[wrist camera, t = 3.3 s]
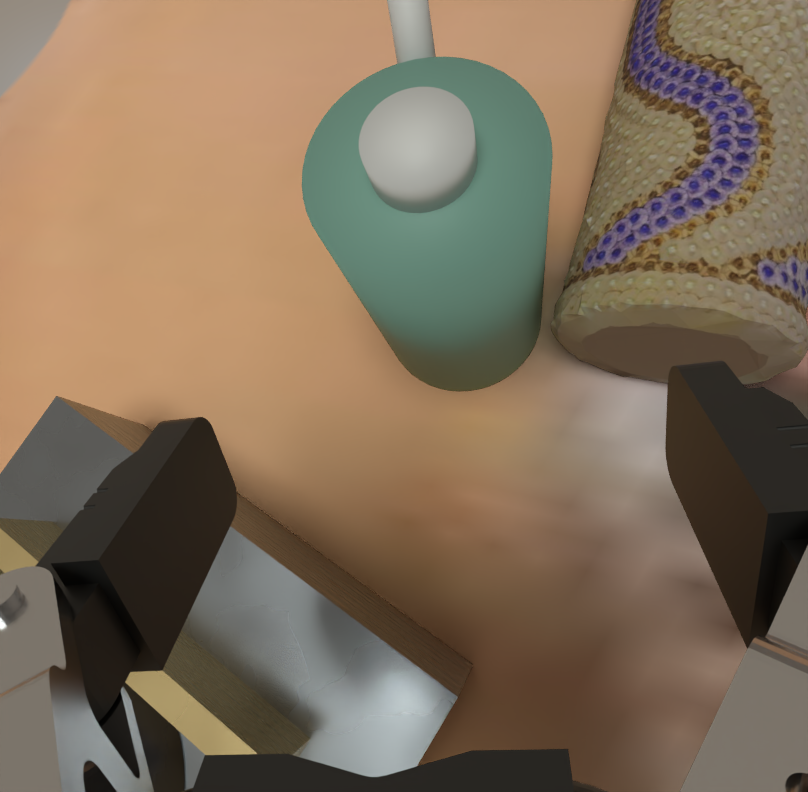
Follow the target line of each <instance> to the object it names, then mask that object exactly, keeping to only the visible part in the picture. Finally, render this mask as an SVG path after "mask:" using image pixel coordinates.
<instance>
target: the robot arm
mask: <svg viewBox="0 0 808 792" xmlns="http://www.w3.org/2000/svg"><path fill="white" fill-rule="evenodd" d="M666 459H667V466H668V471H669V475H670V478H671V481H672V484H673V486H674V488H675V490H676V493H677V495H678V497H679V499H680V501H681V504H682V506H683V508H684V510H685V512H686V515H687V517H688V519H689V521H690V523H691V526H692V528H693V530H694V532H695V534H696V537H697V539H698V541H699V543H700V545H701V548H702V550H703V552H704V554H705V556H706V559H707V561H708V563H709V565H710V567H711V570H712V572H713V574H714V576H715V578H716V581H717V583H718V585H719V587H720V589H721V592H722V594H723V596H724V598H725V600H726V603H727V605H728V607H729V609H730V611H731V614H732V616H733V618H734V620H735V622H736V625H737V627H738V629H739V631H740V633H741V636H742V638H743V640H744V642H745V644H746V647H747V651H746V653H745V655H744V657H743V659H742V662H741V664H740V666H739V668H738V670H737V672H736V674H735V676H734V678H733V681H732V683H731V685H730V687H729V689H728V691H727V693H726V695H725V697H724V700H723V702H722V704H721V706H720V708H719V710H718V712H717V714H716V716H715V718H714V721H713V723H712V725H711V727H710V729H709V731H708V733H707V735H706V737H705V740H704V742H703V744H702V746H701V748H700V750H699V752H698V754H697V756H696V759H695V761H694V763H693V765H692V767H691V769H690V771H689V773H688V775H687V777H686V780H685V782H684V784H683V786H682V788H681V790H680V792H808V420H807V419H806V418H805V417H804V415H803V414H802V413H801V412H800V411H799V410H798V408H797V407H796V406H795V405H794V404H793V403H791V402H790V401H788V400H786V399H784V398H782V397H780V396H778V395H777V394H775V393H773V392H771V391H769V390H767V389H765V388H764V387H761V388H751V389H746V388H745V387H744V386H743V384H742V383H741V382H740V380H739V379H738V378H737V377H736V375H735V374H734V373H733V371H732V370H731V369H730V368H729V366H728V365H727V364H726V363H725V362H724V361H712V362H703V363H694V364H685V365H676V366H672V367H671V369H670V372H669V377H668V395H667V421H666ZM236 508H237V493H236V487H235V484H234V481H233V478H232V476H231V473H230V471H229V468H228V466H227V463H226V461H225V458H224V456H223V453H222V451H221V448H220V445H219V443H218V440H217V438H216V435H215V433H214V430H213V428H212V426H211V424H210V423H209V421H208V420H206V419H205V418H203V417H197V418H188V419H179V420H170V421H163V422H161V423H159V424H158V425H157V426H156V428H155V429H154V430H153V432H152V433H151V434H150V435H149V437H148V438H147V439H146V441H145V442H144V443H143V444H142V446H141V447H140V448H139V450H138V451H136V452H135V453H133V454H132V455H131V456H129V457H128V458H127V459H125V460H124V461H123V462H121V463H120V464H119V465H117V466H116V467H115V468H113V469H112V471H111V472H110V473H109V474H108V476H107V477H106V478H105V479H104V481H103V482H102V483H101V484H100V486H99V487H98V488H97V493H93V494H92V496H91V497H90V498H89V499H88V501H87V502H86V503H85V504H84V510H80V511H79V512H78V513H77V514H76V516H75V517H74V518H73V519H72V521H71V522H70V523H69V524H68V526H67V527H66V528H65V530H64V531H63V532H62V533H61V535H60V536H59V537H58V538H57V540H56V541H55V542H54V543H53V545H52V546H51V547H50V548H49V550H48V551H47V552H46V553H45V555H44V556H43V557H42V558H41V560H40V561H39V562H38V563H37V565H36V566H31V567H23V568H19V569H15V570H12V571H9V572H6V573H4V574H1V575H0V792H154V789H153V785H152V782H151V778H150V774H149V770H148V766H147V762H146V758H145V754H144V750H143V746H142V742H141V738H140V734H139V730H138V726H137V722H136V718H135V714H134V710H133V706H132V703H131V699H130V697H129V694H128V693H127V691H126V690H125V688H124V687H123V685H124V683H125V681H126V679H127V678H128V676H129V674H130V672H143V671H162V670H163V668H164V666H165V664H166V662H167V660H168V657H169V655H170V653H171V651H172V649H173V647H174V645H175V643H176V640H177V638H178V636H179V634H180V632H181V630H182V628H183V626H184V623H185V621H186V619H187V617H188V615H189V613H190V611H191V609H192V606H193V604H194V602H195V600H196V598H197V596H198V594H199V592H200V589H201V587H202V585H203V583H204V581H205V579H206V577H207V575H208V572H209V570H210V568H211V566H212V564H213V562H214V560H215V558H216V555H217V553H218V551H219V549H220V547H221V545H222V543H223V541H224V538H225V536H226V534H227V532H228V530H229V528H230V526H231V524H232V521H233V519H234V517H235V513H236ZM182 792H607V791H604V790H602V789H599V788H597V787H594V786H591V785H588V784H584V783H580V782H577V781H573V780H572V774H571V767H570V760H569V753H568V749H547V750H485V751H469V752H466V753H462V754H459V755H455V756H452V757H448V758H445V759H441V760H438V761H434V762H431V763H427V764H424V765H420V766H417V767H413V768H410V769H406V770H403V771H399V772H396V773H392V774H389V775H385V776H380V777H369V776H364V775H360V774H357V773H353V772H350V771H346V770H343V769H339V768H336V767H332V766H329V765H325V764H322V763H318V762H315V761H311V760H308V759H304V758H301V757H297V756H294V755H290V754H239V755H205V756H204V759H203V762H202V764H201V767H200V770H199V773H198V776H197V778H196V781H195V784H194V787H193V788H190V789H187V790H184V791H182Z"/></svg>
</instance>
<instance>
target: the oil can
mask: <svg viewBox="0 0 808 792" xmlns="http://www.w3.org/2000/svg"><path fill="white" fill-rule="evenodd" d="M387 2H388V8H389V14H390V20H391V26H392V33H393V39H394V45H395V51H396V58H397V64H396V65H393V66H390V67H388V68H385V69H383V70H381V71H379V72H377V73H375V74H373V75H371V76H369V77H367V78H366V79H364V80H363V81H361V82H359V83H358V84H356V85H355V86H354V87H353V88H351V89H350V90H349V91H348V92H346V93H345V94H344V95H343V96H342V97H341V98H340V99H339V100H338V101H337V102H336V103H335V104H334V105H333V106H332V107H331V109H330V110H329V111H328V112H327V113H326V115H325V116H324V117H323V119H322V121H321V122H320V124H319V125H318V127H317V128H316V130H315V132H314V135H313V137H312V139H311V141H310V143H309V146H308V149H307V152H306V155H305V160H304V165H303V171H302V191H303V200H304V204H305V208H306V212H307V214H308V217H309V219H310V221H311V224H312V226H313V227H314V229H315V231H316V232H317V234H318V236H319V237H320V239H321V240H322V242H323V244H324V245H325V247H326V248H327V250H328V251H329V253H330V254H331V256H332V257H333V259H334V260H335V262H336V264H337V265H338V267H339V268H340V270H341V271H342V273H343V274H344V276H345V277H346V279H347V280H348V282H349V284H350V285H351V287H352V288H353V290H354V291H355V293H356V294H357V296H358V297H359V299H360V301H361V302H362V304H363V305H364V307H365V308H366V310H367V311H368V313H369V314H370V316H371V317H372V319H373V321H374V322H375V324H376V325H377V327H378V328H379V330H380V331H381V333H382V334H383V336H384V338H385V339H386V341H387V342H388V344H389V345H390V347H391V348H392V350H393V351H394V353H395V354H396V356H397V358H398V359H399V361H400V362H401V363H402V364H403V366H404V367H405V368H406V369H407V370H408V371H409V372H410V373H411V374H412V375H414V376H415V377H416V378H418V379H419V380H421V381H423V382H425V383H427V384H429V385H431V386H434V387H437V388H440V389H444V390H449V391H472V390H477V389H482V388H485V387H488V386H491V385H493V384H495V383H498V382H500V381H501V380H503V379H505V378H506V377H508V376H509V375H511V374H512V373H513V372H514V371H516V370H517V369H518V368H519V367H520V366H521V365H522V363H523V362H524V361H525V360H526V358H527V357H528V356H529V354H530V353H531V351H532V349H533V347H534V345H535V343H536V340H537V338H538V334H539V330H540V325H541V312H542V298H543V284H544V270H545V256H546V241H547V227H548V213H549V199H550V184H551V170H552V142H551V137H550V133H549V129H548V126H547V123H546V120H545V118H544V115H543V113H542V112H541V110H540V108H539V106H538V105H537V103H536V101H535V100H534V99H533V98H532V97H531V95H530V94H529V93H528V92H527V90H525V89H524V88H523V87H522V86H521V85H520V84H519V83H518V82H517V81H515V80H514V79H512V78H511V77H510V76H508V75H507V74H505V73H504V72H502V71H500V70H497V69H495V68H493V67H491V66H489V65H486V64H483V63H480V62H477V61H473V60H468V59H463V58H455V57H436V56H435V49H434V41H433V34H432V26H431V19H430V11H429V4H428V0H387Z"/></svg>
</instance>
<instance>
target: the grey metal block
mask: <svg viewBox="0 0 808 792" xmlns="http://www.w3.org/2000/svg"><path fill="white" fill-rule="evenodd" d="M151 433H152V431H151V430H150V429H148V428H147V427H145V426H144V425H142V424H139V423H136V422H133V421H130V420H127V419H124V418H121V417H118V416H115V415H112V414H109V413H106V412H103V411H100V410H97V409H94V408H91V407H88V406H85V405H82V404H79V403H76V402H73V401H70V400H67V399H64V398H61V397H58V396H56V397H55V399H54V400H53V402H52V403H51V404H50V406H49V407H48V409H47V410H46V411H45V413H44V414H43V416H42V417H41V418H40V420H39V421H38V422H37V424H36V425H35V427H34V428H33V429H32V431H31V432H30V434H29V435H28V436H27V438H26V439H25V441H24V442H23V443H22V445H21V446H20V447H19V449H18V450H17V452H16V453H15V454H14V456H13V457H12V459H11V460H10V461H9V463H8V464H7V466H6V467H5V468H4V470H3V471H2V472H1V474H0V575H1V574H4V573H6V572H9V571H12V570H15V569H19V568H23V567H31V566H36V565H37V563H38V562H39V561H40V560H41V558H42V557H43V556H44V555H45V553H46V552H47V551H48V550H49V548H50V547H51V546H52V545H53V543H54V542H55V541H56V540H57V538H58V537H59V536H60V535H61V533H62V532H63V531H64V530H65V528H66V527H67V526H68V524H69V523H70V522H71V521H72V519H73V518H74V517H75V516H76V514H77V513H78V512H79V511H80V510H84V504H85V503H86V502H87V501H88V499H89V498H90V497H91V496H92V494H93V493H97V488H98V487H99V486H100V484H101V483H102V482H103V481H104V479H105V478H106V477H107V476H108V474H109V473H110V472H111V471H112V469H113V468H115V467H116V466H117V465H119V464H120V463H121V462H123V461H124V460H125V459H127V458H128V457H129V456H131V455H132V454H133V453H135V452H136V451H138V450H139V448H140V447H141V446H142V444H143V443H144V442H145V441H146V439H147V438H148V437H149V435H150V434H151ZM472 666H473V664H472V663H470V662H469V661H468V660H466V659H465V658H463V657H462V656H461V655H459V654H458V653H457V652H455V651H454V650H452V649H451V648H450V647H448V646H447V645H446V644H444V643H443V642H441V641H440V640H439V639H437V638H436V637H435V636H433V635H432V634H430V633H429V632H428V631H426V630H425V629H424V628H422V627H421V626H419V625H418V624H417V623H415V622H414V621H413V620H411V619H410V618H408V617H407V616H406V615H404V614H403V613H401V612H400V611H399V610H397V609H396V608H395V607H393V606H392V605H390V604H389V603H388V602H386V601H385V600H384V599H382V598H381V597H379V596H378V595H377V594H375V593H374V592H373V591H371V590H370V589H368V588H367V587H366V586H364V585H363V584H362V583H360V582H359V581H357V580H356V579H355V578H353V577H352V576H351V575H349V574H348V573H346V572H345V571H344V570H342V569H341V568H340V567H338V566H337V565H335V564H334V563H333V562H331V561H330V560H329V559H327V558H326V557H324V556H323V555H322V554H320V553H319V552H318V551H316V550H315V549H313V548H312V547H311V546H309V545H308V544H307V543H305V542H304V541H302V540H301V539H300V538H298V537H297V536H295V535H294V534H293V533H291V532H290V531H289V530H287V529H286V528H284V527H283V526H282V525H280V524H279V523H278V522H276V521H275V520H273V519H272V518H271V517H269V516H268V515H267V514H265V513H264V512H262V511H261V510H260V509H258V508H257V507H256V506H254V505H253V504H251V503H250V502H249V501H247V500H246V499H245V498H243V497H242V496H240V495H239V494H238V493H237V508H236V513H235V517H234V519H233V521H232V524H231V526H230V528H229V530H228V532H227V534H226V536H225V538H224V541H223V543H222V545H221V547H220V549H219V551H218V553H217V555H216V558H215V560H214V562H213V564H212V566H211V568H210V570H209V572H208V575H207V577H206V579H205V581H204V583H203V585H202V587H201V589H200V592H199V594H198V596H197V598H196V600H195V602H194V604H193V606H192V609H191V611H190V613H189V615H188V617H187V619H186V621H185V623H184V626H183V628H182V630H181V632H180V634H179V636H178V638H177V640H176V643H175V645H174V647H173V649H172V651H171V653H170V655H169V657H168V660H167V662H166V664H165V666H164V668H163V670H162V671H143V672H130V674H129V676H128V678H127V679H126V681H125V683H124V685H123V687H124V688H125V690H126V691H127V693H128V694H129V697H130V699H131V703H132V706H133V710H134V714H135V718H136V722H137V726H138V730H139V734H140V738H141V742H142V746H143V750H144V754H145V758H146V762H147V766H148V770H149V774H150V778H151V782H152V785H153V789H154V792H182V791H184V790H187V789H190V788H193V787H194V784H195V781H196V778H197V776H198V773H199V770H200V767H201V764H202V762H203V759H204V756H205V755H239V754H290V755H294V756H297V757H301V758H304V759H308V760H311V761H315V762H318V763H322V764H325V765H329V766H332V767H336V768H339V769H343V770H346V771H350V772H353V773H357V774H360V775H364V776H369V777H380V776H385V775H389V774H392V773H396V772H399V771H403V770H406V769H410V768H413V767H416V766H417V765H418V763H419V761H420V760H421V758H422V756H423V755H424V753H425V751H426V750H427V748H428V746H429V745H430V743H431V741H432V740H433V738H434V736H435V735H436V733H437V731H438V730H439V728H440V726H441V725H442V723H443V721H444V720H445V718H446V716H447V715H448V713H449V711H450V710H451V708H452V706H453V705H454V703H455V701H456V700H457V698H458V696H459V694H460V692H461V690H462V688H463V685H464V683H465V681H466V679H467V677H468V674H469V672H470V670H471V668H472Z"/></svg>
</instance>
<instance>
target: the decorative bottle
mask: <svg viewBox="0 0 808 792" xmlns="http://www.w3.org/2000/svg"><path fill="white" fill-rule="evenodd" d="M564 283H565V284H564V288H563V293H562V294H561V296H560V298H559V300H558V301H557V303H556V305H555V311H554V319H553V321H552V322H551V330H552V332H553V334H554V336H555V337H556V338H557V340H558V341H559V342H560V343H561V344H562V345H563V346H564V347H565V348H566V350H567V351H568V352H569V353H572V354H574V355H575V356H576V357H577V358H578V359H579V360H580V361H586V362H588V363H590V364H592V365H594V366H596V367H598V368H601V369H603V370H606V371H609V372H612V373H615V374H618V375H620V376H626V377H635V378H640V379H645V380H651V381H657V382H663V383H668V377H669V372H670V369H671V367H672V366H676V365H685V364H694V363H703V362H712V361H724V362H725V363H726V364H727V365H728V366H729V368H730V369H731V370H732V371H733V373H734V374H735V375H736V377H737V378H738V379H739V380H740V382H741V383H742V384H753V383H758V382H762V381H767V380H768V379H770V378H772V377H773V376H775V375H777V374H779V373H782V372H784V371H787V370H790V369H792V368H795V367H797V365H798V364H799V363H800V362H801V360H802V359H803V358H804V356H805V355H806V352H807V350H808V326H807V322H806V310H807V306H808V0H636V4H635V8H634V12H633V15H632V19H631V22H630V27H629V31H628V35H627V39H626V43H625V47H624V50H623V54H622V58H621V61H620V65H619V68H618V72H617V76H616V80H615V91H614V96H613V99H612V103H611V106H610V109H609V111H608V114H607V116H606V120H605V126H604V134H603V139H602V144H601V149H600V154H599V157H598V161H597V164H596V168H595V171H594V175H593V180H592V184H591V188H590V192H589V196H588V200H587V203H586V207H585V212H584V217H583V222H582V225H581V228H580V232H579V235H578V238H577V242H576V245H575V248H574V252H573V255H572V259H571V262H570V266H569V272H568V274H567V276H566V279H565V280H564Z"/></svg>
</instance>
